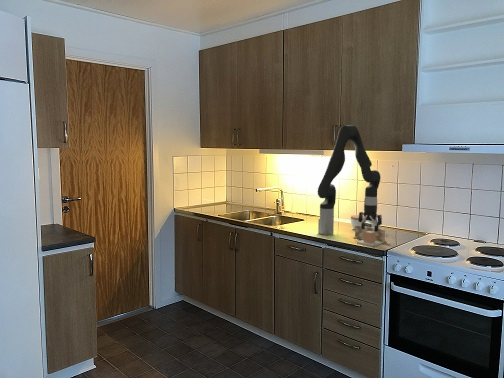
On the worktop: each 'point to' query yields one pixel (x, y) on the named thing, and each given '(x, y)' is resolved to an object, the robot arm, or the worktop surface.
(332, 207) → the robot arm
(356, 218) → the lidded bowl
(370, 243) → the pale green pad
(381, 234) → the birch screen
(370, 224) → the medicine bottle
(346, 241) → the worktop surface
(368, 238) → the terracotta block
